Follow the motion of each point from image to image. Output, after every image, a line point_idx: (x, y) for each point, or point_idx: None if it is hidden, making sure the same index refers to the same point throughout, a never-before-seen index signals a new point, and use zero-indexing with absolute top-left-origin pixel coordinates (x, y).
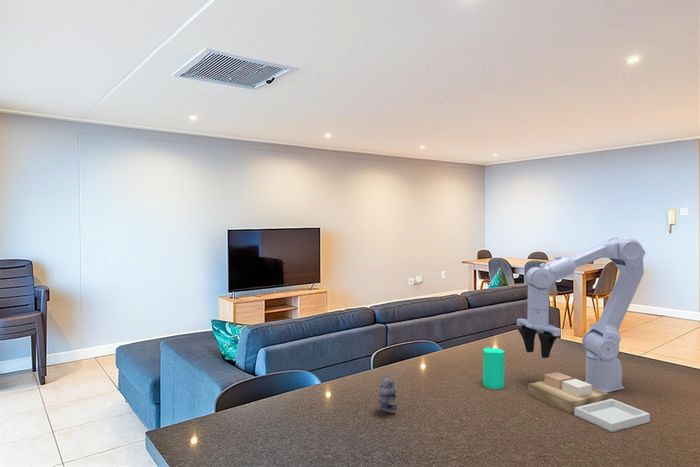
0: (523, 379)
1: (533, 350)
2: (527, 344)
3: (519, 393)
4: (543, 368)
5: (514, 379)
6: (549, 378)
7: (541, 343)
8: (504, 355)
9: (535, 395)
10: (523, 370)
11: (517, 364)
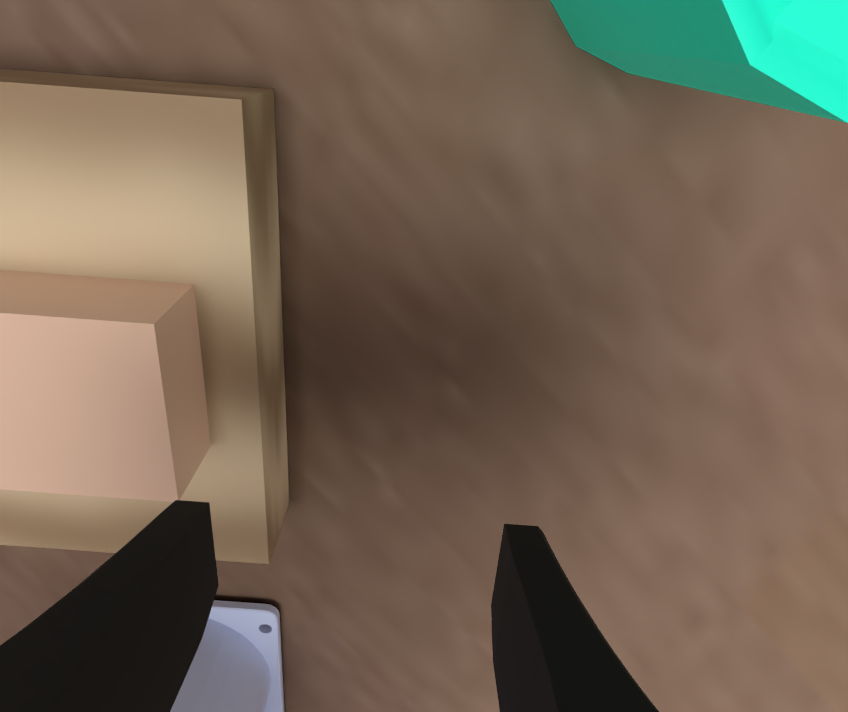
0: (579, 369)
1: (493, 626)
2: (528, 634)
3: (332, 21)
4: (641, 664)
5: (631, 298)
6: (87, 306)
7: (23, 698)
8: (703, 57)
9: (165, 82)
10: (719, 530)
11: (840, 594)
